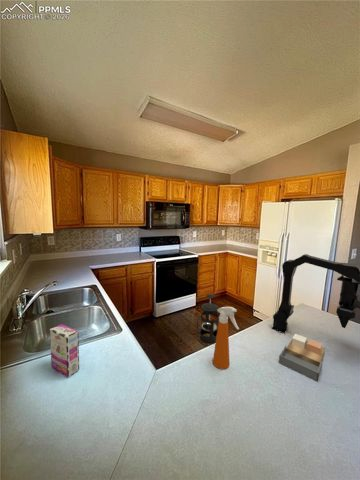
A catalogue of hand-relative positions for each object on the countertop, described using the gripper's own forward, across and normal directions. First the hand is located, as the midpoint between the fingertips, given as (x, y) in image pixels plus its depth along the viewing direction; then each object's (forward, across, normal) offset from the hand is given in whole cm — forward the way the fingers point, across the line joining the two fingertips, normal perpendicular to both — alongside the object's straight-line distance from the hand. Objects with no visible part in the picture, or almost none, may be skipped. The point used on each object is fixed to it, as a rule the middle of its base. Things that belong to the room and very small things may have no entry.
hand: (344, 323), depth 92 cm
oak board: (+14, -13, +12) cm, 23 cm away
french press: (+15, -36, +51) cm, 64 cm away
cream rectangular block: (+12, -12, +15) cm, 22 cm away
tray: (+14, -24, +12) cm, 30 cm away
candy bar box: (+15, -93, +80) cm, 123 cm away
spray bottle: (+15, -47, +35) cm, 60 cm away
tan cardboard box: (+12, -12, +9) cm, 19 cm away
